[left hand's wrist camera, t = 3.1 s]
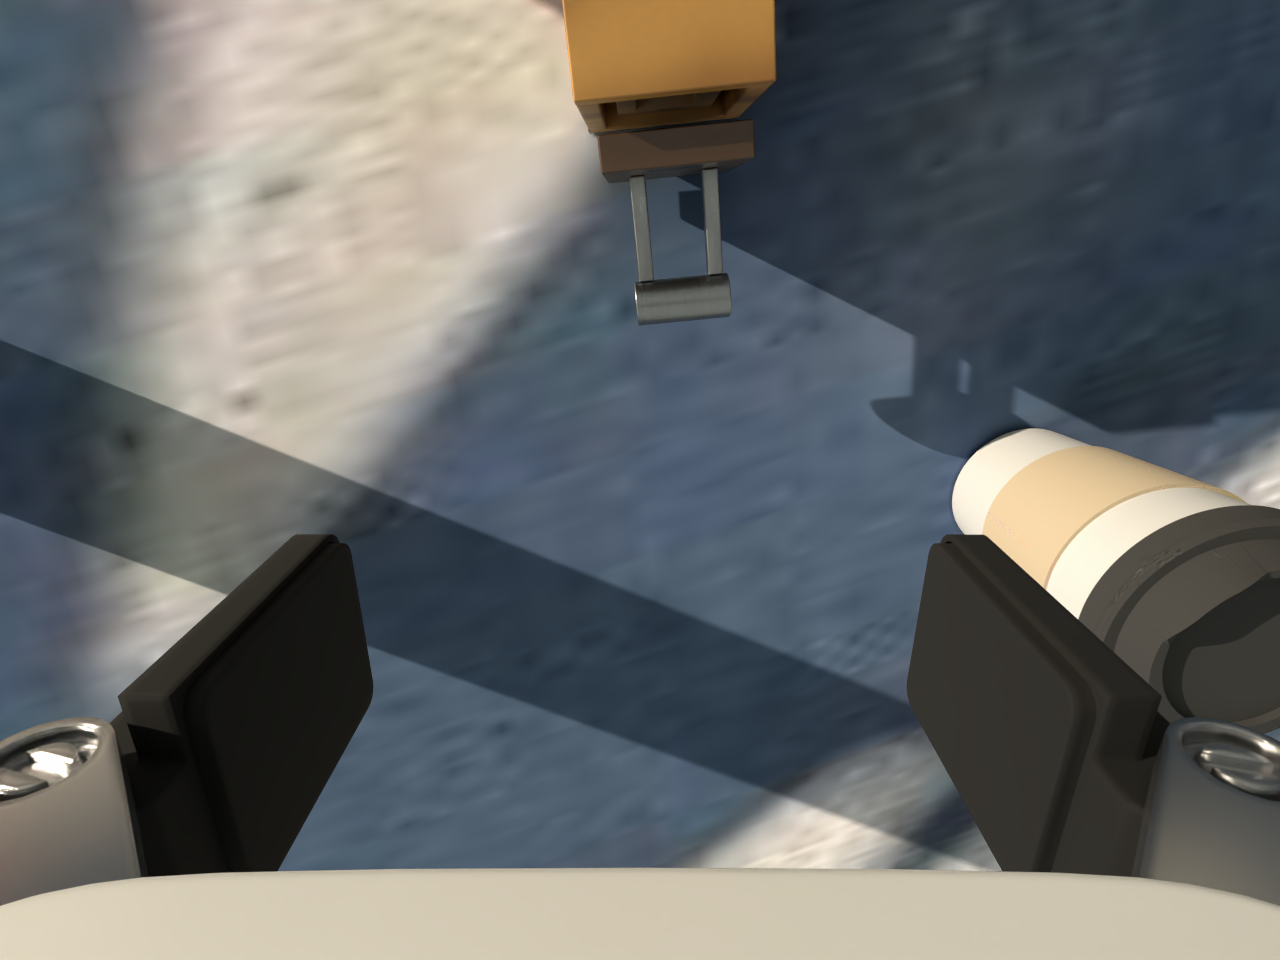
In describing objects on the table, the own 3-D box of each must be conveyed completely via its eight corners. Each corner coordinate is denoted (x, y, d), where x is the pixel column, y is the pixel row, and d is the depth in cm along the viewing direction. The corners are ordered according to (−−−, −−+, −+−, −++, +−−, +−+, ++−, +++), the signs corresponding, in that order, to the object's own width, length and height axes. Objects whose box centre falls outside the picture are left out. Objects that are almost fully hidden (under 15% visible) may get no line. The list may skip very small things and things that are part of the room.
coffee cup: (1139, 491, 36) (1466, 668, 22) (994, 597, 38) (1205, 819, 24) (1045, 369, 33) (1343, 479, 19) (896, 490, 36) (1066, 667, 22)
